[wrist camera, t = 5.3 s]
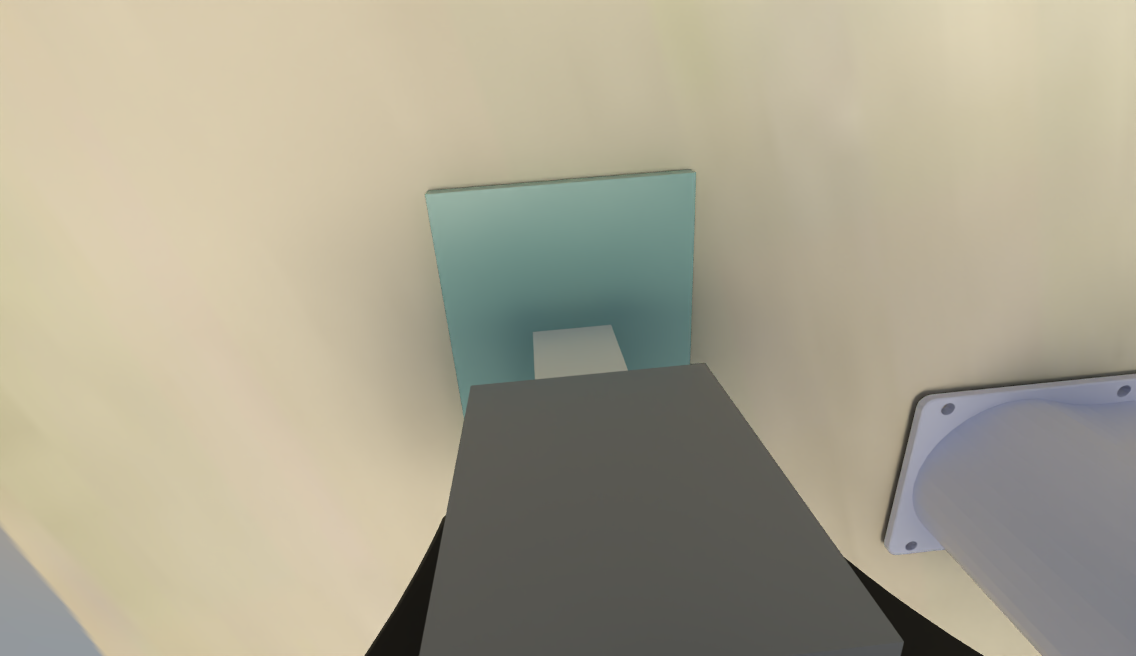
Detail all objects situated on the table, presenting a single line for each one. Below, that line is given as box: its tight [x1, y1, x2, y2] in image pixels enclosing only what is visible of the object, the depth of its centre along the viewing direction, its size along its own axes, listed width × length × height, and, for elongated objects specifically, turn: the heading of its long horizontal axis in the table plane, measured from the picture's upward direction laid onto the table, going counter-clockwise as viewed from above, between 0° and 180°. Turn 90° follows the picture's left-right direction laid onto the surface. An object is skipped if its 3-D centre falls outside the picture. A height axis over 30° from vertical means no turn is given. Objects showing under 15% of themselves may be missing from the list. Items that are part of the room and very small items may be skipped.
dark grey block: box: [419, 363, 904, 656], centre depth 10 cm, size 5×5×7 cm
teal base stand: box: [425, 170, 696, 418], centre depth 16 cm, size 8×12×6 cm, turn 4°
